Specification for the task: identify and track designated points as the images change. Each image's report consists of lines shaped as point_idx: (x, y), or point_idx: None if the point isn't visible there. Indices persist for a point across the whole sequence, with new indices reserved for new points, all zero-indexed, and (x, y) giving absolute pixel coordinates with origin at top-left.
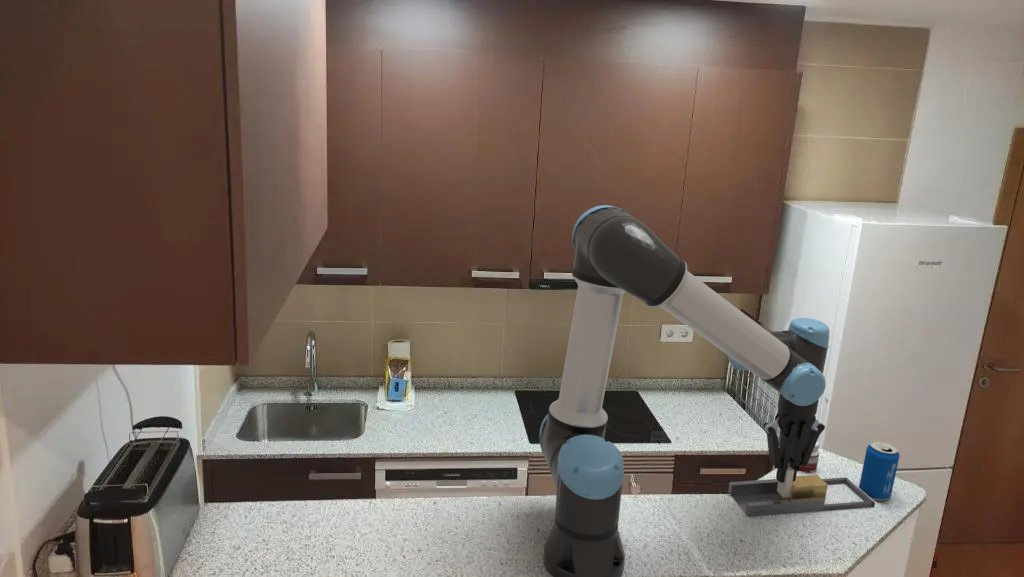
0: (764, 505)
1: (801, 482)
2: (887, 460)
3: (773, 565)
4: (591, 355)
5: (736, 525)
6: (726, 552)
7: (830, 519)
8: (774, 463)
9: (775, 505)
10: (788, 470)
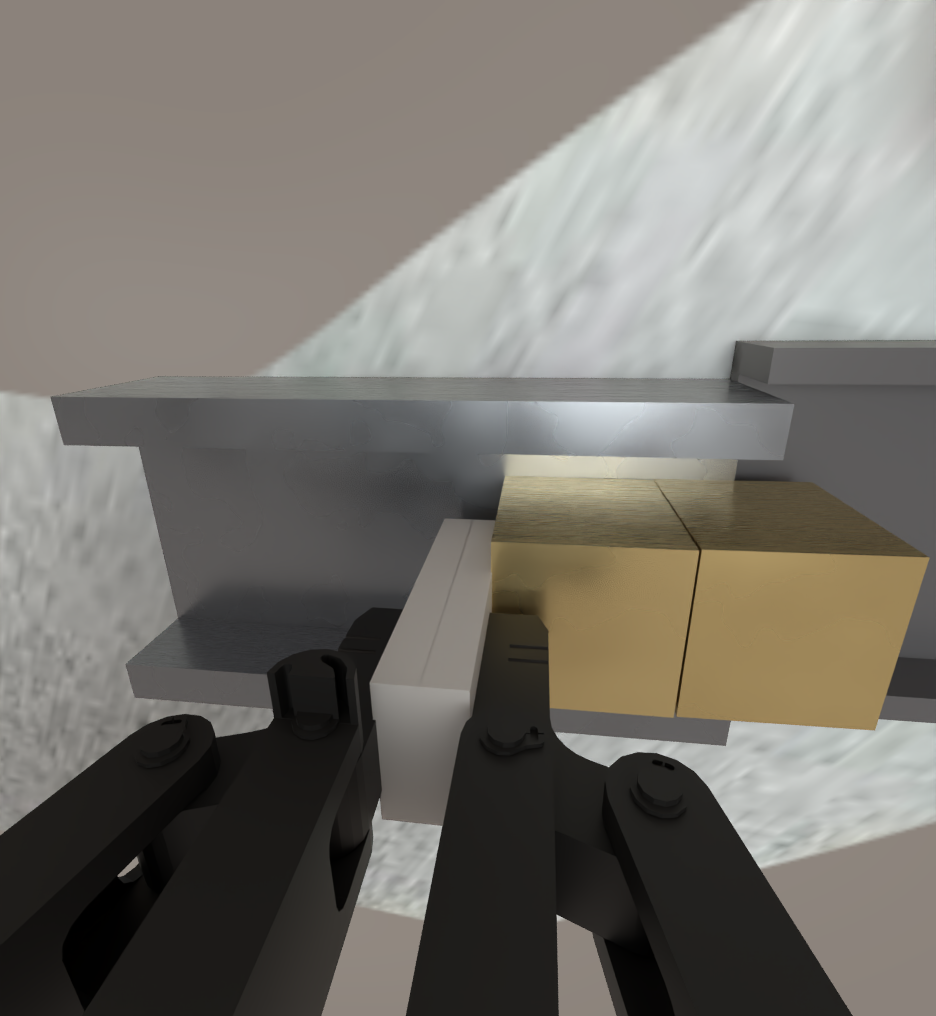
0: (239, 704)
1: (623, 655)
2: None
3: None
4: None
5: (149, 630)
6: (63, 773)
7: None
8: (127, 888)
9: None
10: (393, 817)
